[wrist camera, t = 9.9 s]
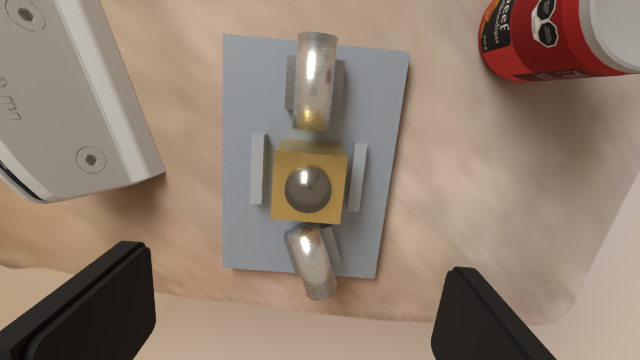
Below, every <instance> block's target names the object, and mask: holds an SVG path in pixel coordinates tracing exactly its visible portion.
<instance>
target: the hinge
mask: <svg viewBox="0 0 640 360" xmlns="http://www.w3.org/2000/svg"><path fill="white" fill-rule="evenodd" d="M164 172H165V169H164V167H163V164H162V162H161V159H160V156H159V154H158V151H157V149H156V146H155V144H154V141H153V138H152V136H151V133H150V131H149V128H148V125H147V123H146V120H145V118H144V115H143V112H142V110H141V107H140V105H139V102H138V100H137V97H136V94H135V92H134V89H133V87H132V84H131V81H130V79H129V76H128V74H127V71H126V68H125V66H124V63H123V61H122V58H121V56H120V53H119V50H118V48H117V45H116V43H115V40H114V37H113V35H112V32H111V30H110V27H109V24H108V22H107V19H106V17H105V14H104V11H103V9H102V6H101V4H100V1H99V0H0V179H1V180H3V181H4V182H5V183H6V184H7V185H8V186H9V187H10V188H11V189H13V190H14V191H15V192H16V193H18V194H19V195H20V196H21V197H23V198H24V199H25V200H28V201H31V202H35V203H39V204H49V203H54V202H61V201H66V200H70V199H75V198H79V197H84V196H88V195H92V194H96V193H100V192H105V191H109V190H113V189H117V188H122V187H126V186H130V185H134V184H138V183H140V182H142V181H144V180H146V179H149V178H151V177H154V176H156V175H159V174H161V173H164Z"/></svg>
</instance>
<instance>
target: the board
mask: <svg viewBox="0 0 640 360" xmlns="http://www.w3.org/2000/svg"><path fill="white" fill-rule="evenodd" d="M297 42H298V41H292V40H281V39H271V38H261V37H251V36H241V35H231V34H223V268H231V269H245V270H259V271H273V272H287V273H295V272H294V269H293V266H292V263H291V260H290V257H289V254H288V251H287V248H286V245H285V242H284V239H283V238H284V234H285V230H288V229H291V228H292V227H294V226H296V225H298V224H301V223H304V222H303V221H291V220H278V219H271V203H272V184H273V165H274V150H275V148H276V147H277V146H278V145H279V143H280V142H281V141H282V140H283V139H284V138H287V139H298V140H309V141H320V142H331V143H341V144H342V146H343V148H344V150H345V152H346V153H347V155H348V163H347V171H346V179H345V187H344V196H343V204H342V212H341V220H340V225H339V224H332V226H333V230H334V233H335V237H336V241H337V244H338V248H339V251H340V255H341V261H342V265H341V266H337V267H333V268H332V269H333V272H334V275H335V276H343V277H358V278H372V279H375V273H376V267H377V260H378V254H379V248H380V241H381V235H382V229H383V222H384V216H385V210H386V203H387V197H388V191H389V184H390V178H391V172H392V165H393V159H394V153H395V146H396V140H397V134H398V127H399V121H400V115H401V108H402V102H403V96H404V89H405V83H406V77H407V70H408V64H409V58H410V52H403V51H393V50H383V49H373V48H362V47H352V46H342V45H337V53H336V60H345V69H344V79H343V88H342V98H341V108H340V114H331V115H330V126H329V131H306V130H299V129H294V128H292V121H293V110H286V109H284V107H285V89H286V70H287V55H293V56H297Z"/></svg>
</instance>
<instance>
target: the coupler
mask: <svg viewBox="0 0 640 360" xmlns="http://www.w3.org/2000/svg"><path fill="white" fill-rule="evenodd" d="M347 163H348V155H347V153H346V152H345V150H344V148H343V146H342V144H341V143H331V142H320V141H309V140H298V139H287V138H284V139H283V140H282V141H281V142H280V143H279V145H278V146H277V147H276V148H275V150H274V165H273V184H272V203H271V219H278V220H291V221H303V222H315V223H327V224H339V225H340V220H341V212H342V204H343V196H344V187H345V179H346V171H347Z"/></svg>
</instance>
